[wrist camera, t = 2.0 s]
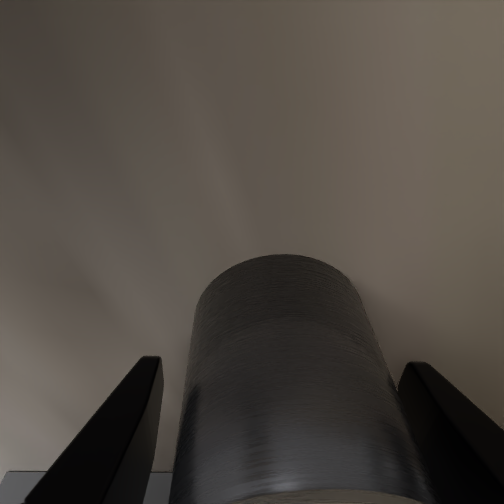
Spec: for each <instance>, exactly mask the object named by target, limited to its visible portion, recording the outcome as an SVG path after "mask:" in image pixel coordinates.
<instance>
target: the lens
mask: <svg viewBox="0 0 504 504" xmlns="http://www.w3.org/2000/svg"><path fill="white" fill-rule="evenodd" d="M168 504H442V502H441V499H440V497H439V494H438V492H437V489H436V487H435V484H434V482H433V480H432V477H431V475H430V472H429V470H428V467H427V465H426V462H425V460H424V457H423V455H422V452H421V450H420V447H419V445H418V442H417V440H416V437H415V435H414V432H413V430H412V427H411V425H410V422H409V420H408V417H407V415H406V412H405V410H404V407H403V405H402V402H401V400H400V397H399V395H398V392H397V390H396V387H395V385H394V382H393V380H392V377H391V375H390V372H389V370H388V367H387V365H386V362H385V360H384V357H383V355H382V352H381V350H380V347H379V345H378V342H377V340H376V337H375V335H374V332H373V330H372V327H371V325H370V322H369V320H368V317H367V315H366V312H365V310H364V307H363V305H362V302H361V300H360V298H359V295H358V293H357V291H356V289H355V287H354V286H353V284H352V283H351V282H350V281H349V280H348V278H347V277H345V276H344V275H343V274H342V273H341V272H340V271H338V270H337V269H335V268H334V267H332V266H330V265H328V264H326V263H324V262H322V261H319V260H316V259H313V258H309V257H304V256H299V255H288V254H285V255H269V256H262V257H258V258H254V259H250V260H247V261H244V262H242V263H239V264H237V265H235V266H233V267H231V268H229V269H228V270H226V271H225V272H223V273H222V274H220V275H219V276H218V277H217V278H216V279H214V280H213V281H212V282H211V283H210V285H209V286H208V287H207V288H206V289H205V291H204V292H203V294H202V295H201V297H200V299H199V302H198V304H197V307H196V312H195V317H194V324H193V331H192V339H191V346H190V353H189V360H188V367H187V374H186V381H185V388H184V395H183V402H182V409H181V416H180V424H179V431H178V438H177V445H176V452H175V459H174V466H173V473H172V480H171V487H170V494H169V502H168Z"/></svg>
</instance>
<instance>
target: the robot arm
mask: <svg viewBox="0 0 504 504" xmlns="http://www.w3.org/2000/svg"><path fill="white" fill-rule="evenodd" d="M163 387H164V378H163V368H162V359H161V357H159V356H143V357H141V358H140V359H139V361H138V362H137V363H136V364H135V365H134V367H133V368H132V369H131V370H130V371H129V373H128V374H127V375H126V376H125V377H124V379H123V380H122V381H121V382H120V384H119V385H118V386H117V387H116V388H115V390H114V391H113V392H112V393H111V394H110V396H109V397H108V398H107V399H106V400H105V402H104V403H103V404H102V405H101V407H100V408H99V409H98V410H97V411H96V413H95V414H94V415H93V416H92V417H91V419H90V420H89V421H88V422H87V423H86V425H85V426H84V427H83V428H82V429H81V431H80V432H79V433H78V434H77V436H76V437H75V438H74V439H73V440H72V442H71V443H70V444H69V445H68V446H67V448H66V449H65V450H64V451H63V452H62V454H61V455H60V456H59V457H58V459H57V460H56V461H55V462H54V463H53V465H52V466H51V467H50V468H49V469H48V471H47V472H46V473H45V474H44V475H43V477H42V478H41V479H40V480H39V481H38V483H37V484H36V485H35V486H34V488H33V489H32V490H31V491H30V492H29V494H28V495H27V496H26V497H25V499H24V503H20V504H143V501H144V497H145V493H146V489H147V485H148V481H149V477H150V473H151V469H152V464H153V460H154V454H155V448H156V441H157V434H158V426H159V419H160V411H161V403H162V396H163ZM398 395H399V397H400V400H401V402H402V405H403V407H404V410H405V412H406V415H407V417H408V420H409V422H410V425H411V427H412V430H413V432H414V435H415V437H416V440H417V442H418V445H419V447H420V450H421V452H422V455H423V457H424V460H425V462H426V465H427V467H428V470H429V472H430V475H431V477H432V480H433V482H434V484H435V487H436V489H437V492H438V494H439V497H440V499H441V502H442V504H504V430H503V429H502V428H500V427H499V426H498V425H497V424H496V423H495V422H494V421H493V420H491V419H490V418H489V417H488V416H487V415H486V414H485V413H484V412H482V411H481V410H480V409H479V408H478V407H477V406H476V405H475V404H473V403H472V402H471V401H470V400H469V399H468V398H467V397H466V396H464V395H463V394H462V393H461V392H460V391H459V390H458V389H457V388H455V387H454V386H453V385H452V384H451V383H450V382H449V381H448V380H447V379H445V378H444V377H443V376H442V375H441V374H440V373H439V372H438V371H436V370H435V369H434V368H433V367H432V366H431V365H430V364H428V363H426V362H409V363H407V365H406V367H405V369H404V372H403V374H402V376H401V379H400V381H399V384H398Z"/></svg>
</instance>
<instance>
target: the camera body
mask: <svg viewBox="0 0 504 504" xmlns="http://www.w3.org/2000/svg"><path fill="white" fill-rule="evenodd" d="M45 473H46V472H6V474H5V476H4V478H3V480H2V482H1V484H0V504H20V503H24V499H25V497H26V496H27V495H28V494H29V492H30V491H31V490H32V489H33V488H34V486H35V485H36V484H37V483H38V481H39V480H40V479H41V478H42V477H43V475H44V474H45ZM171 480H172V473H150V477H149V481H148V485H147V489H146V493H145V497H144V501H143V504H168V502H169V494H170V487H171Z"/></svg>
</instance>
